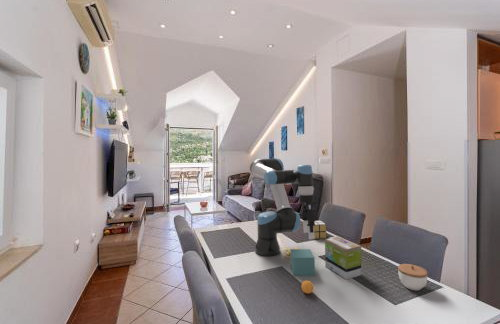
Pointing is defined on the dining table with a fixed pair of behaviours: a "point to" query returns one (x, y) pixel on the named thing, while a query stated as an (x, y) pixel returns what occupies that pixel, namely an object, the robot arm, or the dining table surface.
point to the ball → (307, 287)
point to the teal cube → (302, 262)
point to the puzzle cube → (319, 230)
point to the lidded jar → (412, 276)
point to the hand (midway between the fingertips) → (308, 235)
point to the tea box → (343, 257)
